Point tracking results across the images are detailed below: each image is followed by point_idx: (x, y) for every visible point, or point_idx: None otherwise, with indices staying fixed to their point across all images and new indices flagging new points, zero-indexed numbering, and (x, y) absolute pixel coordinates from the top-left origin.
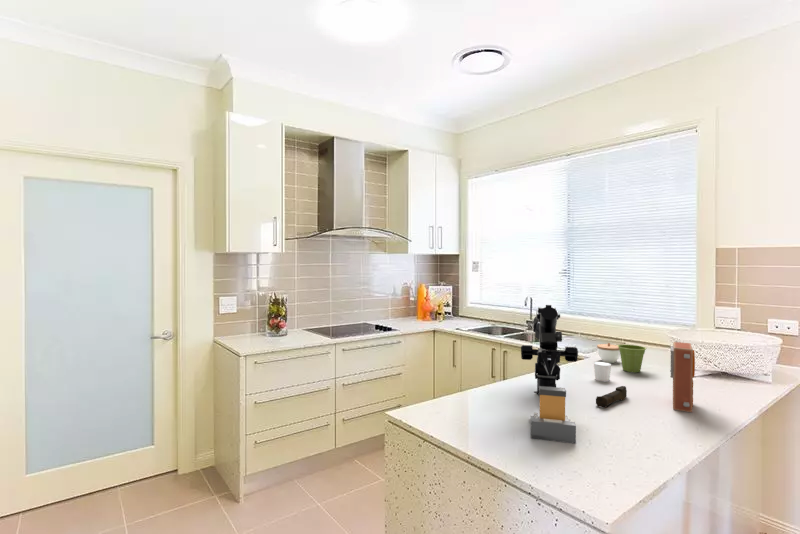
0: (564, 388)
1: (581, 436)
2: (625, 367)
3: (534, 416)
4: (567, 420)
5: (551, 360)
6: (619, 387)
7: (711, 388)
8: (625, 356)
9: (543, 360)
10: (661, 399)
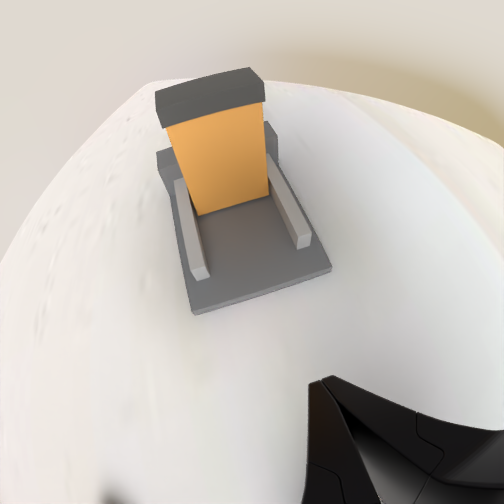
0: (158, 105)
1: (157, 227)
2: None
3: (293, 200)
4: (186, 226)
5: (361, 495)
6: None
7: None
8: None
9: (471, 429)
10: None
